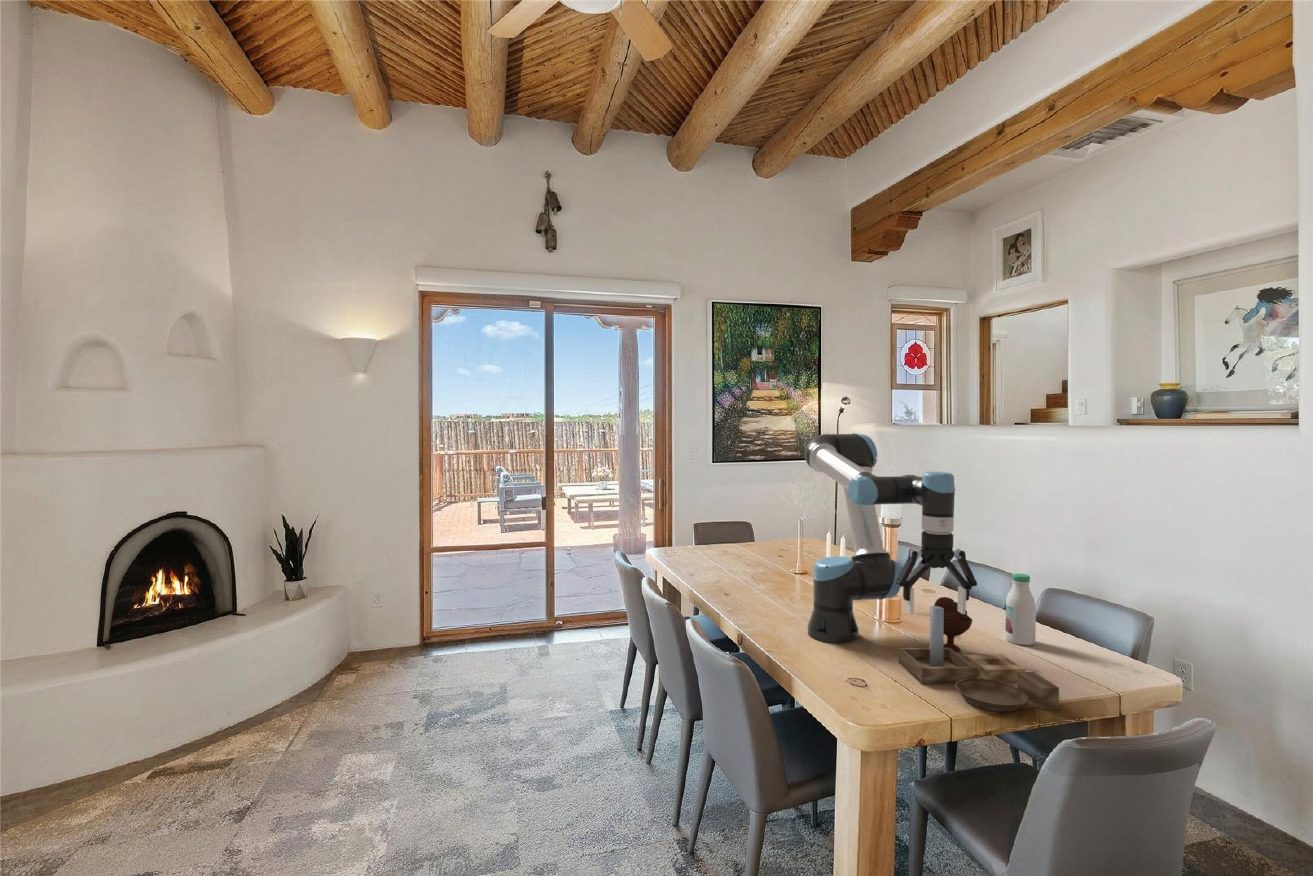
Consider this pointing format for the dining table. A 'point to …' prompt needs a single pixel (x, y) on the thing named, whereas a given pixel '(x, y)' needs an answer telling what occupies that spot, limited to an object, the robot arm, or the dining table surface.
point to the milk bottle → (1020, 612)
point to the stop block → (1038, 690)
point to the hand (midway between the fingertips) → (935, 612)
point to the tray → (950, 673)
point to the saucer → (991, 694)
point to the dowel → (936, 636)
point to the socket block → (995, 667)
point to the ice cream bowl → (953, 621)
